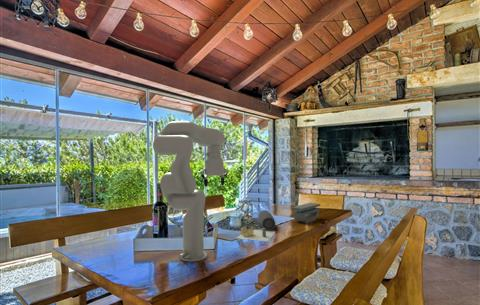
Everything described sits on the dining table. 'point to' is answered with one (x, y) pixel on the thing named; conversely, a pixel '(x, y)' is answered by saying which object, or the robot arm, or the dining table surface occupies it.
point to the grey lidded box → (306, 212)
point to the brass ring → (247, 231)
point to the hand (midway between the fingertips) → (214, 185)
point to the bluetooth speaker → (266, 220)
